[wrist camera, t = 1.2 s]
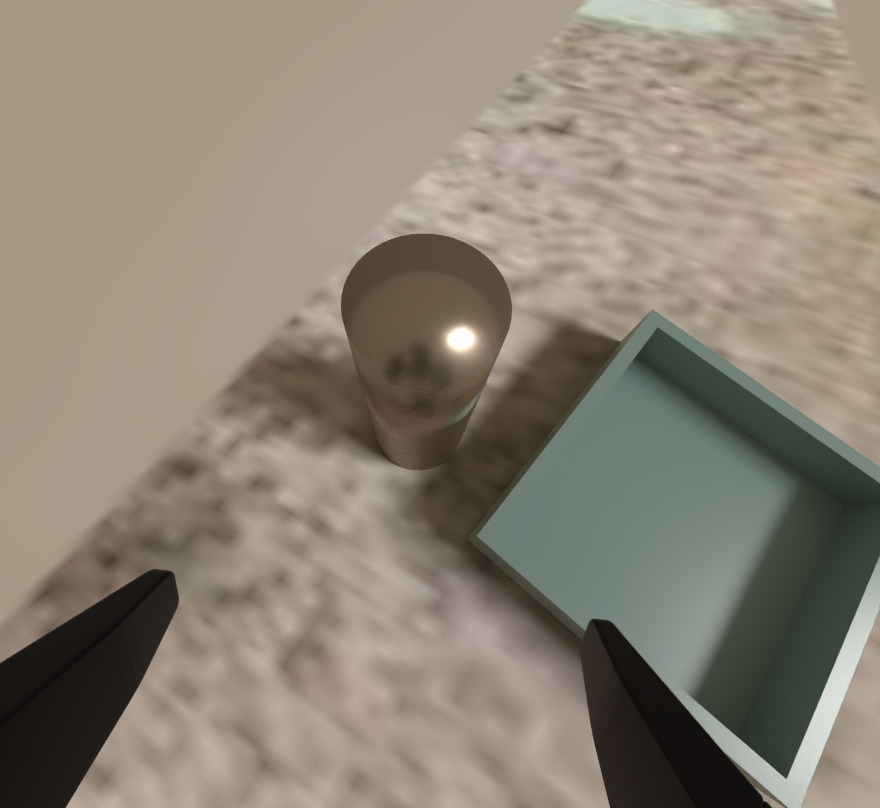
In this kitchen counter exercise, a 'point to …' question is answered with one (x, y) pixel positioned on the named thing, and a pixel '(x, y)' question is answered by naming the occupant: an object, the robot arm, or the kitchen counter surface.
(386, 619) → the kitchen counter surface
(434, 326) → the canister
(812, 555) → the tray
